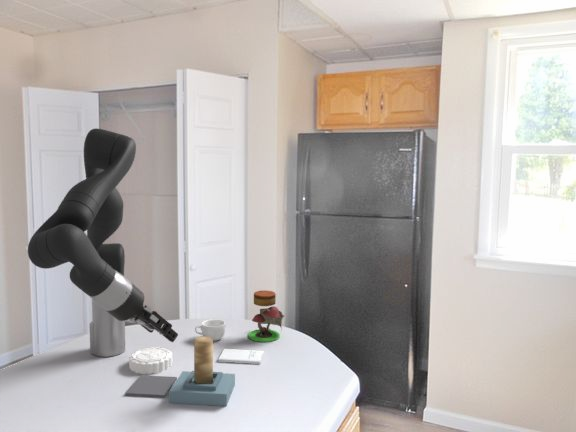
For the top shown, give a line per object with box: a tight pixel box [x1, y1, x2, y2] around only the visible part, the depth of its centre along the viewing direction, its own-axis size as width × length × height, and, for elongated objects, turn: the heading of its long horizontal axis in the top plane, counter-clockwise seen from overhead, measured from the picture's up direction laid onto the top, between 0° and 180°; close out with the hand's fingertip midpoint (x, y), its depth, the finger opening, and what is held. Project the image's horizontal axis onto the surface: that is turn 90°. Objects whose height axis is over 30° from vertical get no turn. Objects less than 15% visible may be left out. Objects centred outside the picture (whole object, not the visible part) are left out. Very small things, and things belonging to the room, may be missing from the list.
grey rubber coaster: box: [124, 374, 178, 398], centre depth 121 cm, size 10×10×1 cm
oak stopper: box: [193, 336, 214, 384], centre depth 117 cm, size 5×5×11 cm
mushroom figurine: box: [248, 290, 285, 343], centre depth 158 cm, size 12×13×15 cm
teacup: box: [194, 318, 226, 342], centre depth 155 cm, size 10×8×5 cm
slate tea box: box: [168, 370, 236, 407], centre depth 118 cm, size 14×11×4 cm
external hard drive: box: [218, 348, 265, 365], centre depth 141 cm, size 2×8×12 cm
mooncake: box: [128, 346, 174, 375], centre depth 134 cm, size 12×12×4 cm
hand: (163, 333), depth 108 cm, fingers open, 8 cm apart
